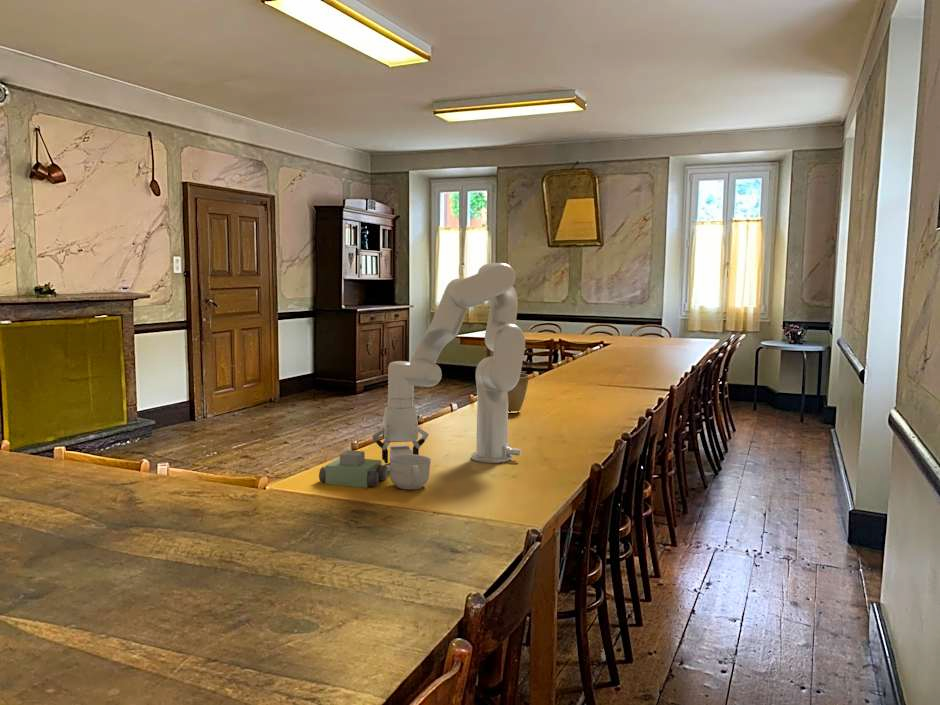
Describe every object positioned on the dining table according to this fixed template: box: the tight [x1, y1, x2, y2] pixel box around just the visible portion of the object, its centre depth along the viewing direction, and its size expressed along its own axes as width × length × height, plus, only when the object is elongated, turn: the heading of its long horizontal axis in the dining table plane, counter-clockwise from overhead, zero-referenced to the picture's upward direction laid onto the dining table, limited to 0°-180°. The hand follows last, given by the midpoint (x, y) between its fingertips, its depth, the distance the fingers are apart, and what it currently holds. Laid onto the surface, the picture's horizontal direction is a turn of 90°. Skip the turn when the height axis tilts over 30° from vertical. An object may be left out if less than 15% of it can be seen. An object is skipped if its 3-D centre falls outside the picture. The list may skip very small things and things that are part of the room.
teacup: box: [389, 453, 432, 490], centre depth 189 cm, size 14×11×8 cm
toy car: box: [318, 449, 390, 489], centre depth 200 cm, size 16×19×8 cm
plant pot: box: [507, 372, 530, 412], centre depth 302 cm, size 15×15×16 cm
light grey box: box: [389, 444, 413, 458], centre depth 213 cm, size 6×7×6 cm
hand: (400, 461), depth 214 cm, fingers open, 8 cm apart
